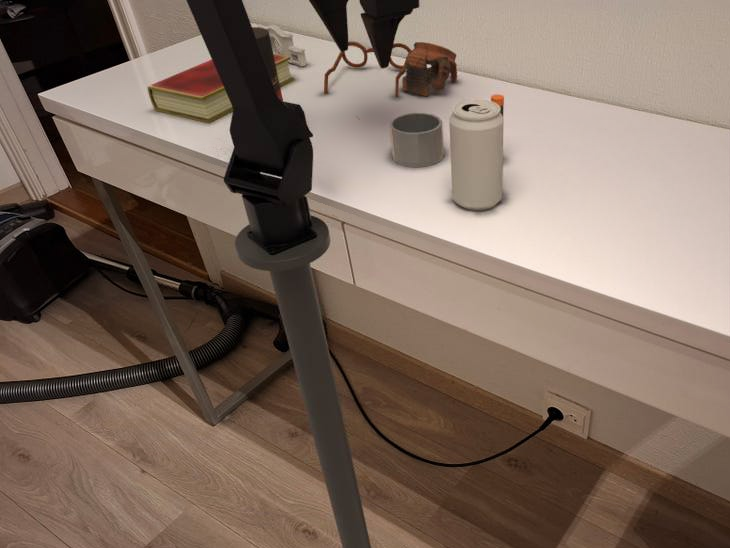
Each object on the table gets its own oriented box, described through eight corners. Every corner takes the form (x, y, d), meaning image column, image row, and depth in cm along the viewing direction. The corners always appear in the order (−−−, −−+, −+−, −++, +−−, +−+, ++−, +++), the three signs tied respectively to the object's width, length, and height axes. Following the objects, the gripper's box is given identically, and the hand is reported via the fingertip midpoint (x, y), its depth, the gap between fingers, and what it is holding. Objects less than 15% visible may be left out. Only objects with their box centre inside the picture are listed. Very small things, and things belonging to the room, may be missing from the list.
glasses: (414, 71, 122) (412, 41, 119) (397, 97, 112) (395, 66, 109) (345, 68, 124) (341, 39, 120) (322, 94, 114) (317, 63, 111)
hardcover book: (154, 110, 110) (145, 84, 107) (242, 70, 123) (236, 45, 121) (209, 123, 105) (201, 96, 103) (294, 79, 119) (289, 55, 116)
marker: (496, 165, 93) (497, 100, 87) (488, 161, 94) (488, 96, 88) (505, 161, 94) (506, 96, 88) (497, 157, 95) (497, 93, 89)
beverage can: (474, 184, 89) (472, 93, 81) (512, 198, 86) (514, 105, 78) (442, 202, 86) (437, 109, 78) (481, 218, 82) (480, 123, 74)
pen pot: (413, 172, 92) (411, 138, 89) (383, 155, 96) (379, 122, 93) (453, 156, 96) (452, 123, 92) (422, 140, 100) (420, 108, 96)
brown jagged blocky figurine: (389, 89, 117) (400, 39, 115) (436, 104, 122) (447, 57, 120) (420, 91, 107) (432, 37, 105) (469, 108, 113) (482, 56, 111)
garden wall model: (308, 65, 125) (302, 31, 121) (300, 68, 124) (294, 33, 120) (269, 52, 131) (262, 19, 127) (261, 55, 130) (254, 22, 126)
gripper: (451, -82, 76) (456, 61, 87) (358, -99, 87) (373, 30, 97) (371, -68, 71) (386, 83, 81) (282, -89, 81) (306, 47, 92)
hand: (363, 58), depth 88 cm, fingers open, 9 cm apart
